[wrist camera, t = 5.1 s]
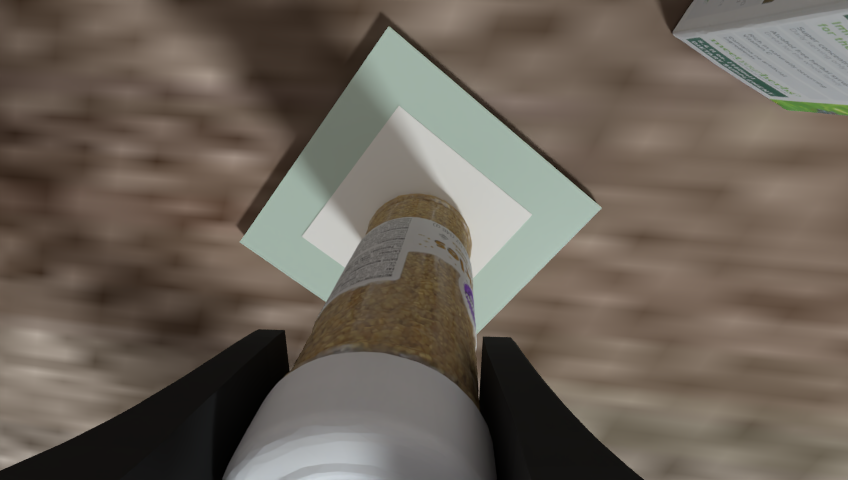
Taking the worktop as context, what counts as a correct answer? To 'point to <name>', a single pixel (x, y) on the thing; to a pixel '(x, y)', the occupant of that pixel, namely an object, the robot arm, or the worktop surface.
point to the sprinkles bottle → (384, 365)
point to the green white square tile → (418, 181)
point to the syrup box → (777, 48)
